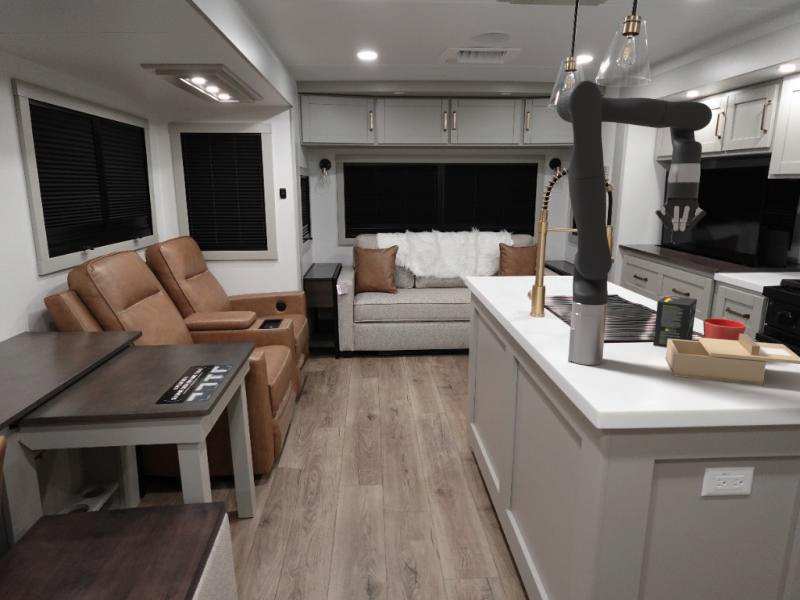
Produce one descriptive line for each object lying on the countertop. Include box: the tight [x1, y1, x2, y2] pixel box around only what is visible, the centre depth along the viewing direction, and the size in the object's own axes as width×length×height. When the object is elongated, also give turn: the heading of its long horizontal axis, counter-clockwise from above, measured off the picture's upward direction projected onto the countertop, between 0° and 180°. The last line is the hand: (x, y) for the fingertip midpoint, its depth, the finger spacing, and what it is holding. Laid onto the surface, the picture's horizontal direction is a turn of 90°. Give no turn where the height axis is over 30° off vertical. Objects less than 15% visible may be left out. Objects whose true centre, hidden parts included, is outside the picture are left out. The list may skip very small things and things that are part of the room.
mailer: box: [665, 339, 767, 386], centre depth 138 cm, size 20×15×6 cm
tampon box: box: [652, 295, 698, 348], centre depth 161 cm, size 11×9×15 cm
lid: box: [698, 333, 800, 365], centre depth 134 cm, size 20×15×3 cm
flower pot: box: [702, 317, 747, 341], centre depth 152 cm, size 11×11×10 cm
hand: (676, 244), depth 144 cm, fingers closed
